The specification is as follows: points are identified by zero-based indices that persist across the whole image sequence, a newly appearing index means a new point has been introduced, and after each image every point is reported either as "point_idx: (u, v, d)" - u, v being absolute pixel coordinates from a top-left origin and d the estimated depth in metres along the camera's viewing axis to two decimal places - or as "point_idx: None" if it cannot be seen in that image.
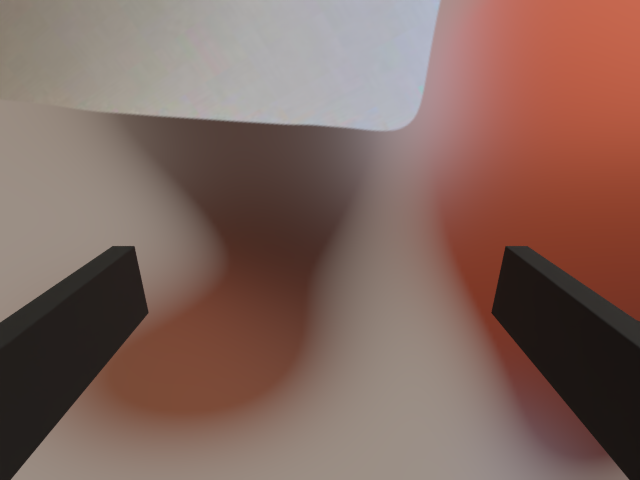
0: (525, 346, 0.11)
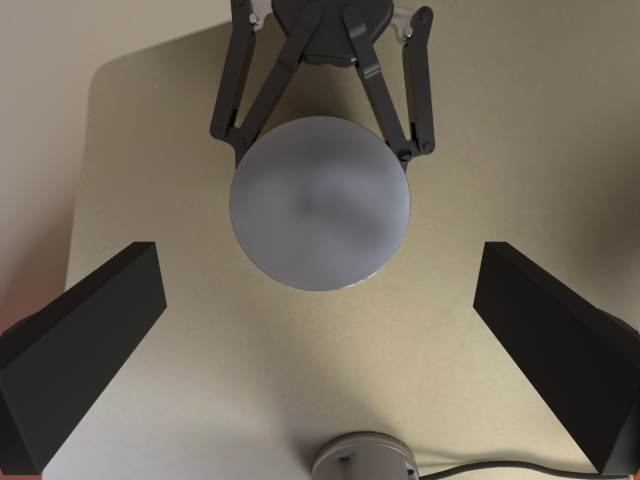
0: (501, 338, 0.11)
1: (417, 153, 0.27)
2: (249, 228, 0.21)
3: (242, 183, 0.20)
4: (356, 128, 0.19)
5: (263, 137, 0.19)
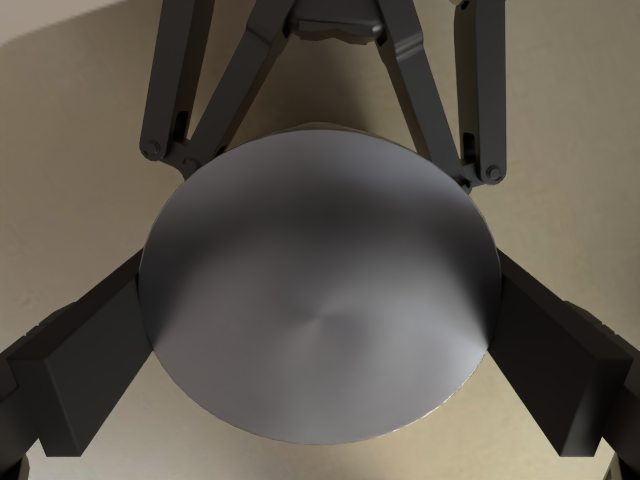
0: None
1: (475, 182, 0.17)
2: (182, 345, 0.11)
3: (161, 265, 0.10)
4: (399, 155, 0.09)
5: (198, 174, 0.09)
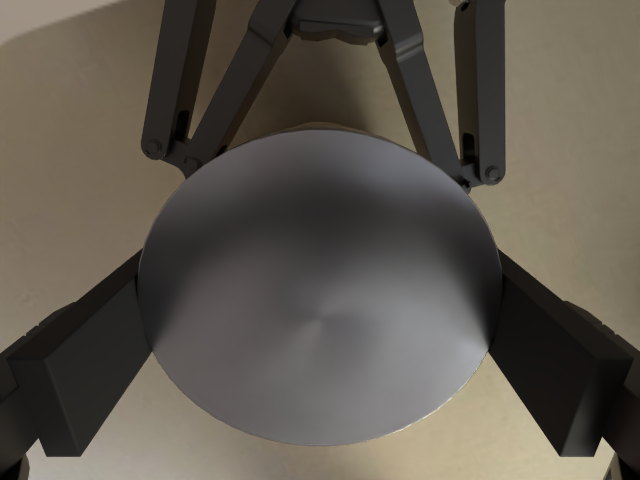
0: None
1: (474, 182, 0.17)
2: (392, 410, 0.12)
3: (318, 434, 0.12)
4: (146, 312, 0.10)
5: (235, 426, 0.12)
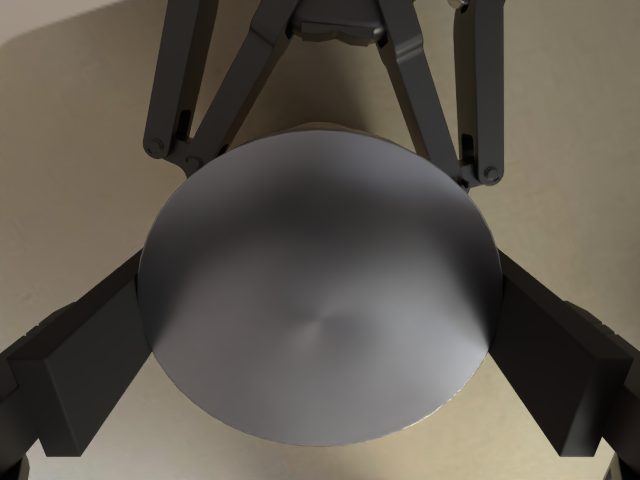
0: None
1: (473, 182, 0.17)
2: (418, 202, 0.09)
3: (480, 270, 0.10)
4: (365, 437, 0.12)
5: (485, 352, 0.11)
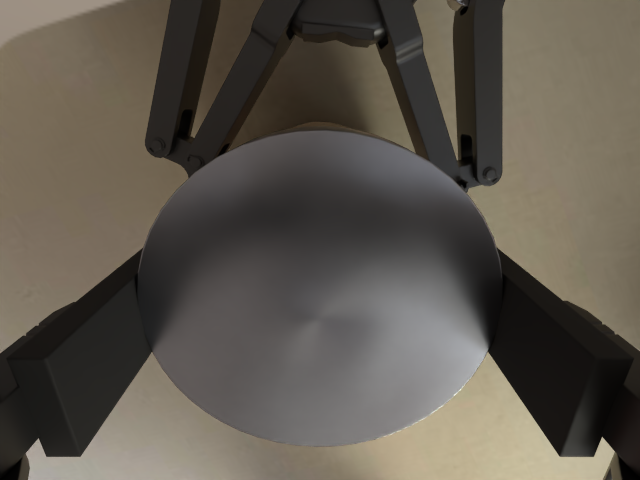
0: None
1: (472, 183, 0.17)
2: (171, 284, 0.10)
3: (201, 199, 0.09)
4: (472, 216, 0.09)
5: (292, 135, 0.08)
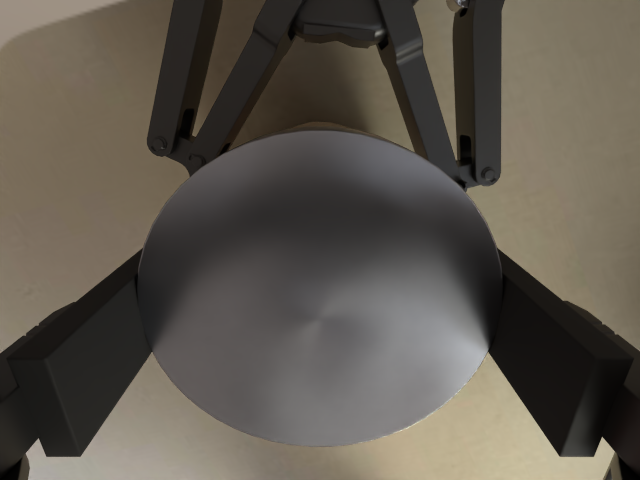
0: None
1: (471, 183, 0.18)
2: (331, 426, 0.12)
3: (250, 422, 0.12)
4: (156, 235, 0.09)
5: (175, 383, 0.11)
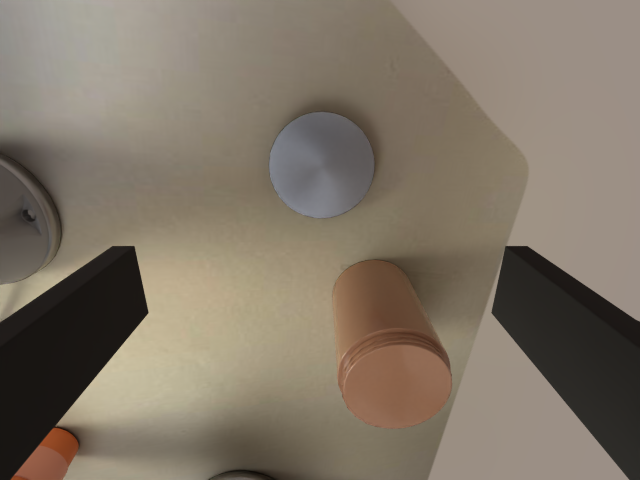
0: (524, 346, 0.11)
1: None
2: (325, 209, 0.36)
3: (299, 207, 0.36)
4: (277, 140, 0.34)
5: (276, 191, 0.36)
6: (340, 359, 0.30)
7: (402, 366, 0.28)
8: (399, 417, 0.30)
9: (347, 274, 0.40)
